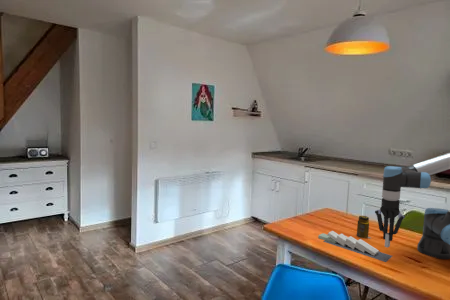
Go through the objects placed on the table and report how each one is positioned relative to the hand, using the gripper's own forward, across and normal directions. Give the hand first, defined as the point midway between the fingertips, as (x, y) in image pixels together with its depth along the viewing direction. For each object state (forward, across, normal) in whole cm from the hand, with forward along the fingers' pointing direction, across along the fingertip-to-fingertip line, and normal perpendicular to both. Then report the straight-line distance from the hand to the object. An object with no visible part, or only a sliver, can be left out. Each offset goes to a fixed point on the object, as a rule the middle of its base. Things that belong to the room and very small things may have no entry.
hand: (387, 246), depth 149 cm
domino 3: (+5, +15, +1) cm, 15 cm away
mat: (+6, +14, +1) cm, 16 cm away
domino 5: (+5, +5, 0) cm, 7 cm away
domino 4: (+5, +10, 0) cm, 11 cm away
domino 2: (+5, +20, +1) cm, 20 cm away
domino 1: (+5, +25, +1) cm, 25 cm away
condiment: (+6, +20, -18) cm, 28 cm away
